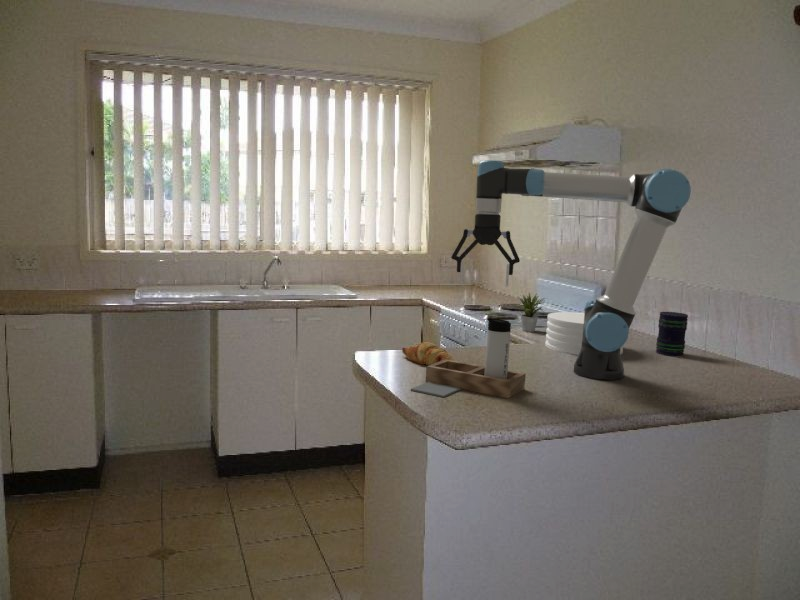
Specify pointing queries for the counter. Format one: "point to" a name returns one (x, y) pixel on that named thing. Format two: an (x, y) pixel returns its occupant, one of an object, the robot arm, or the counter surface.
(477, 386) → the wooden divided tray
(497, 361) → the travel mug
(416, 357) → the croissant
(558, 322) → the plate stack
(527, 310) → the house plant
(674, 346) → the storage jar
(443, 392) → the mat
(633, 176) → the robot arm
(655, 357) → the counter surface
